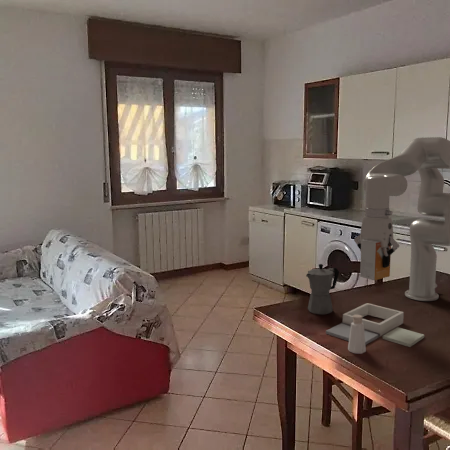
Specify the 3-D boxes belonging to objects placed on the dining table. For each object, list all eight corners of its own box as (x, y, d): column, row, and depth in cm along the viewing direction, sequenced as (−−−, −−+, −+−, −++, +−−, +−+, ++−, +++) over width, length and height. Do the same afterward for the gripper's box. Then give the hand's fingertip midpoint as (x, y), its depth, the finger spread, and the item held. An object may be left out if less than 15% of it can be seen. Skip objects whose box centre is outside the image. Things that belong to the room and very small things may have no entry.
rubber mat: (397, 330, 159) (397, 327, 159) (424, 337, 152) (424, 334, 152) (382, 338, 152) (382, 335, 152) (409, 347, 146) (409, 344, 145)
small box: (374, 281, 157) (375, 242, 154) (359, 276, 162) (360, 239, 160) (390, 276, 161) (391, 239, 159) (375, 272, 166) (376, 236, 164)
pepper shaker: (349, 345, 148) (350, 311, 146) (367, 348, 145) (368, 314, 144) (345, 352, 143) (346, 317, 141) (364, 355, 141) (365, 320, 139)
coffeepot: (314, 317, 172) (315, 269, 168) (298, 309, 180) (298, 263, 177) (346, 309, 179) (347, 263, 176) (329, 302, 187) (330, 258, 184)
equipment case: (366, 313, 175) (367, 302, 174) (403, 323, 165) (403, 312, 164) (325, 333, 157) (325, 322, 156) (363, 346, 147) (364, 333, 146)
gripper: (407, 214, 154) (405, 267, 157) (359, 209, 166) (358, 258, 169) (396, 217, 149) (394, 271, 152) (347, 212, 161) (346, 262, 164)
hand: (375, 264), depth 161 cm, fingers closed on small box, 6 cm apart
